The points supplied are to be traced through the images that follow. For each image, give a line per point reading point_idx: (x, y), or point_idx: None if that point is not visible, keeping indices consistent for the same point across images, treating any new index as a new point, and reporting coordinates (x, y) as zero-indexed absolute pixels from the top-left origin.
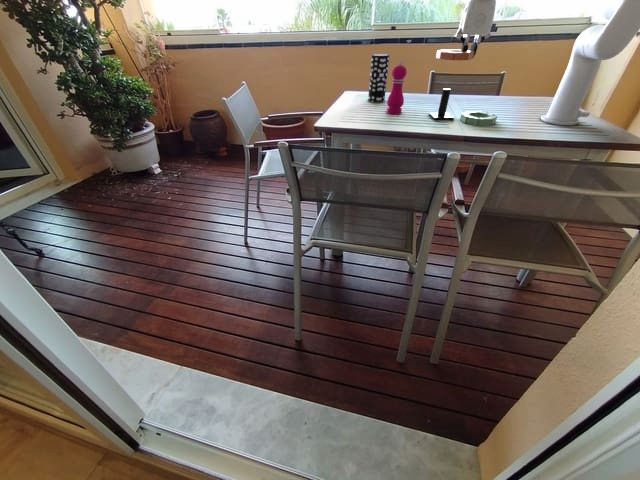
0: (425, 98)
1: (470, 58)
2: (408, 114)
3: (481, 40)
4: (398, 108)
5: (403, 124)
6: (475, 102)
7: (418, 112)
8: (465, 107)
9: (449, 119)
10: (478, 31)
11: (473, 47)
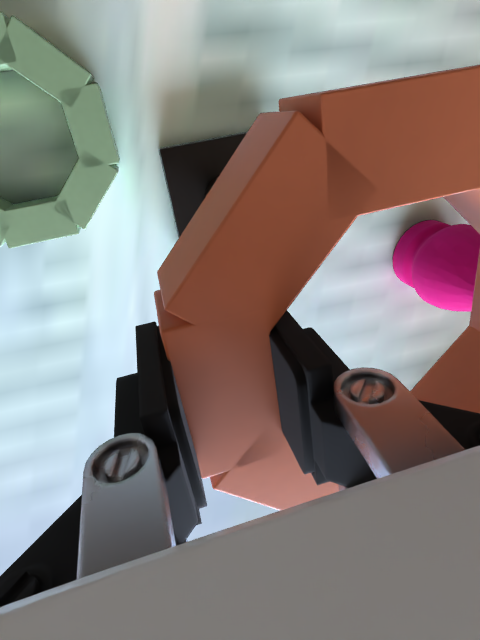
0: (238, 515)
1: (202, 206)
2: (365, 233)
3: (53, 551)
4: (427, 238)
5: (435, 21)
6: (10, 519)
7: (312, 279)
8: (68, 420)
9: (182, 144)
10: (286, 609)
11: (183, 421)
